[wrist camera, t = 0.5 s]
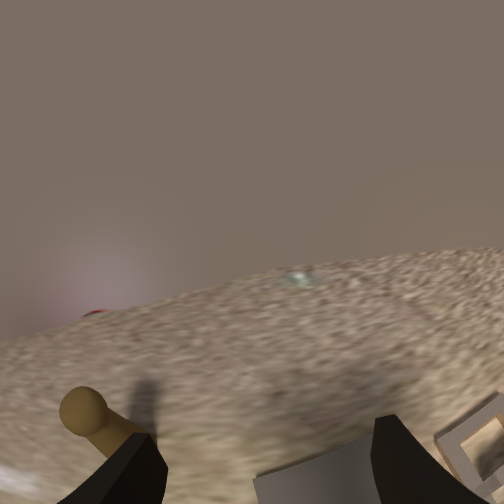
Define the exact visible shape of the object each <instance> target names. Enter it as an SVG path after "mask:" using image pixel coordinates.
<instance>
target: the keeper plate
mask: <svg viewBox="0 0 504 504" xmlns="http://www.w3.org/2000/svg"><path fill="white" fill-rule="evenodd" d="M373 433H374V432H372V433H370V434H368V435H366V436H364V437H362V438H360V439H358V440H356V441H353V442H351V443H349V444H347V445H344V446H342V447H340V448H338V449H335V450H333V451H331V452H328V453H326V454H323V455H321V456H318V457H316V458H313V459H311V460H308V461H305V462H303V463H300V464H297V465H294V466H292V467H289V468H286V469H283V470H280V471H277V472H274V473H271V474H268V475H264V476H261V477H258V478H254V479H252V480H253V483H254V487H255V491H256V494H257V498H258V501H259V504H381V501H380V497H379V494H378V491H377V488H376V484H375V481H374V475H373V470H372V465H371V459H370V452H371V446H372V440H373Z"/></svg>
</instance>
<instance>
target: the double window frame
mask: <svg viewBox="0 0 504 504" xmlns="http://www.w3.org/2000/svg"><path fill="white" fill-rule="evenodd" d="M494 418H497V419H498V420H499V422H500V423H501V424H502V426H503V427H504V394H503V392H502V393H500V394H499V395H498V396H497V397H496V398H494V399H493V400H492V401H491V402H489V403H488V404H487V405H486V406H484V407H483V408H482V409H480V410H479V411H478V412H476V413H475V414H474V415H472V416H471V417H470V418H468V419H467V420H466V421H464V422H463V423H461V424H460V425H458V426H457V427H456V428H454V429H453V430H451V431H450V432H448V433H447V434H445V435H444V436H442V437H440V438H439V439H437V441H436V443H435V445H436V447H437V449H438V450H439V452H440V454H441V455H442V457H443V458H444V460H445V462H446V463H447V465H448V467H449V468H450V470H451V472H452V473H453V475H454V477H455V478H456V479H457V480H458V481H459V482H460V483H462V484H463V485H464V486H466V487H467V488H468V489H470V490H471V491H472V492H474V493H475V494H476V495H478V496H479V497H481V498H483V499H484V500H486V501H487V502H489V503H490V504H496V502H495V500H494V499H493V497H492V495H491V493H492V492H494V491H495V490H497V489H498V488H500V487H501V486H503V485H504V465H503V466H501V467H500V468H499V469H498V470H496V471H495V472H494V473H493V474H492V475H490V476H489V477H488V478H487V479H486V480H484V481H483V480H482V479H481V477H480V476H479V474H478V472H477V471H476V469H475V468H474V466H473V464H472V463H471V461H470V460H469V458H468V457H467V455H466V453H465V452H464V450H463V449H462V447H461V446H460V444H461V443H463V442H464V441H466V440H467V439H468V438H470V437H471V436H472V435H474V434H475V433H476V432H478V431H479V430H480V429H482V428H483V427H484V426H486V425H487V424H488V423H489V422H491V421H492V420H493V419H494Z"/></svg>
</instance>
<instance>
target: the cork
mask: <svg viewBox="0 0 504 504" xmlns="http://www.w3.org/2000/svg"><path fill="white" fill-rule="evenodd" d="M59 414H60V418H61V421H62V423H63V424H64V426H65V427H66V428H67V429H68V430H70V431H71V432H72V433H74V434H76V435H78V436H82V437H86V438H87V439H88V440H89V441H90V442H91V443H92V444H93V445H94V446H95V447H96V448H97V449H98V450H99V451H100V452H101V453H102V454H104V455H105V456H106V457H107V458H108V459H109V457H110V456H111V455H112V454H113V453H114V452H115V451H116V450H117V449H118V448H119V447H120V446H121V445H122V444H123V443H124V442H125V441H126V440H127V439H128V438H129V436H130V435H131V434H132V433H133V432H137V433H149V432H147V431H145V430H143V429H142V428H140V427H138V426H137V425H135V424H133V423H132V422H130V421H128V420H127V419H125V418H123V417H122V416H120V415H119V414H117V413H115V412H114V411H112V410H111V409H109V408H108V406H107V403H106V401H105V400H104V398H103V397H102V396H101V395H100V394H99V393H98V392H97V391H95V390H94V389H92V388H90V387H83V386H80V387H77V388H74V389H73V390H71V391H70V392H69V393H68V394H67V395H66V396H65V397H64V399H63V400H62V402H61V405H60V409H59ZM150 435H151V434H150ZM151 437H152V439H153V441H154V443H155V445H156V447H157V443H156V440H155V438H154V437H153V436H152V435H151Z"/></svg>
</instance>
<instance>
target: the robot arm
mask: <svg viewBox="0 0 504 504" xmlns="http://www.w3.org/2000/svg"><path fill="white" fill-rule="evenodd" d="M370 459H371V465H372V470H373V475H374V481H375V484H376V488H377V491H378V494H379V497H380V501H381V504H490V503H489V502H487V501H486V500H484V499H483V498H481V497H479V496H478V495H476V494H475V493H474V492H472V491H471V490H470V489H468V488H467V487H466V486H464V485H463V484H462V483H460V482H459V481H458V480H457V479H456V478H454V477H453V476H452V475H451V474H450V473H449V472H448V471H447V470H445V469H444V468H443V467H442V466H441V465H440V464H439V463H438V462H437V461H436V460H435V459H434V458H433V457H432V456H431V455H430V454H429V453H428V452H427V451H426V450H425V449H424V448H423V446H422V445H421V444H420V443H419V442H418V441H417V440H416V439H415V438H414V436H413V435H412V434H411V433H410V432H409V431H408V429H407V428H406V427H405V426H404V424H403V423H402V422H401V421H400V419H399V418H398V417H397V416H396V415H394V414H393V415H389V416H384V417H380V418H376V419H375V426H374V433H373V440H372V446H371V452H370ZM167 475H168V466H167V465H166V463H165V461H164V459H163V458H162V456H161V454H160V452H159V450H158V449H157V447H156V445H155V443H154V441H153V439H152V437H151V435H150V433H137V432H133V433H132V434H131V435H130V436H129V438H128V439H127V440H126V441H125V442H124V443H123V444H122V445H121V446H120V447H119V448H118V449H117V450H116V451H115V452H114V453H113V454H112V455H111V456H110V457H109V459H108V460H107V461H106V462H105V463H104V464H103V465H102V466H101V467H100V468H99V469H98V470H97V471H96V472H95V473H93V474H92V475H91V476H90V477H89V478H88V479H87V480H86V481H85V482H84V483H82V484H81V485H80V486H79V487H78V488H77V489H76V490H74V491H73V492H72V493H71V494H69V495H68V496H67V497H65V498H64V499H63V500H61V501H60V502H58V503H57V504H162V500H163V497H164V493H165V488H166V482H167Z"/></svg>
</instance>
